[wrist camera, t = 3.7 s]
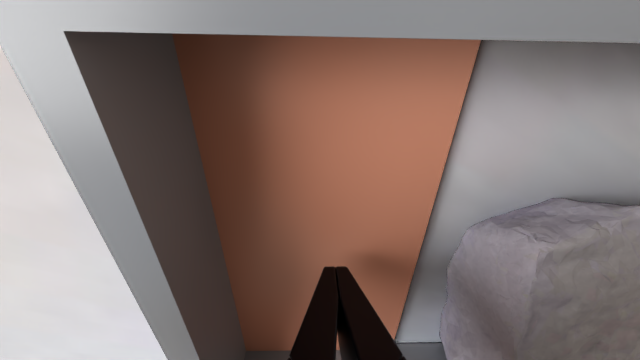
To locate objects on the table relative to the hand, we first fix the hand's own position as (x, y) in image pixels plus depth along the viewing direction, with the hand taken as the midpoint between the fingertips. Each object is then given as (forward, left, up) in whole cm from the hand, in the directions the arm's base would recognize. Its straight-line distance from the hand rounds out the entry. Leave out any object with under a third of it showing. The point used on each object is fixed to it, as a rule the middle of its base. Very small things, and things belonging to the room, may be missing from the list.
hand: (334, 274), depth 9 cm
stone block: (-2, -11, -2) cm, 12 cm away
